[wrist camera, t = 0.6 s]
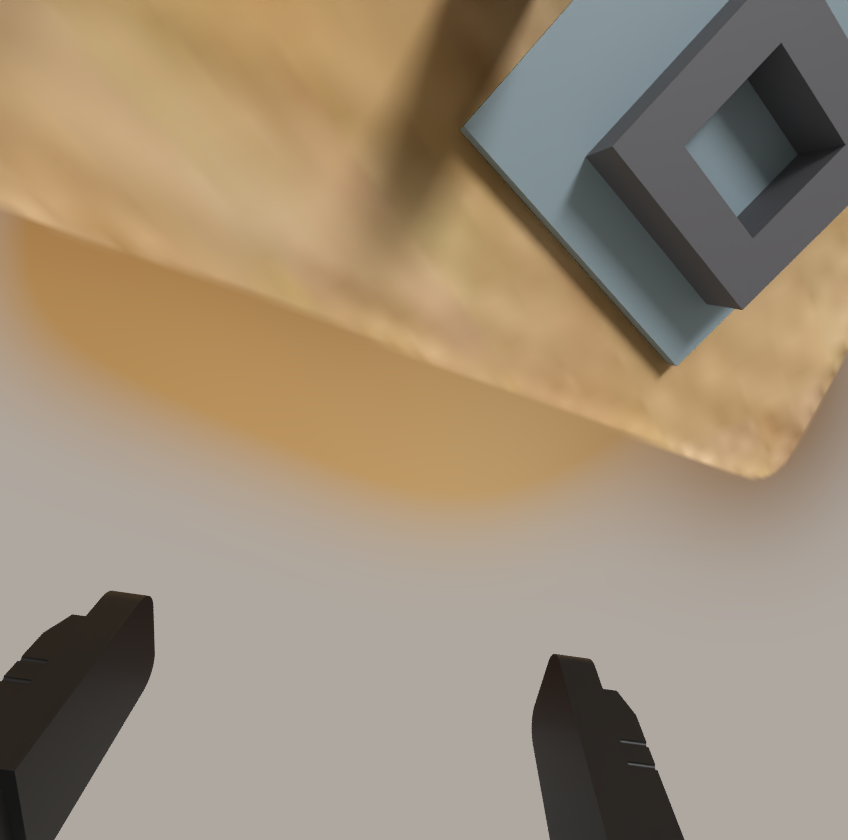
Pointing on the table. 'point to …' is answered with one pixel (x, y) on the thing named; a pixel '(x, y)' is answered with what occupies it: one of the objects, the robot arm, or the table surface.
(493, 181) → the table surface
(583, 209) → the dock
